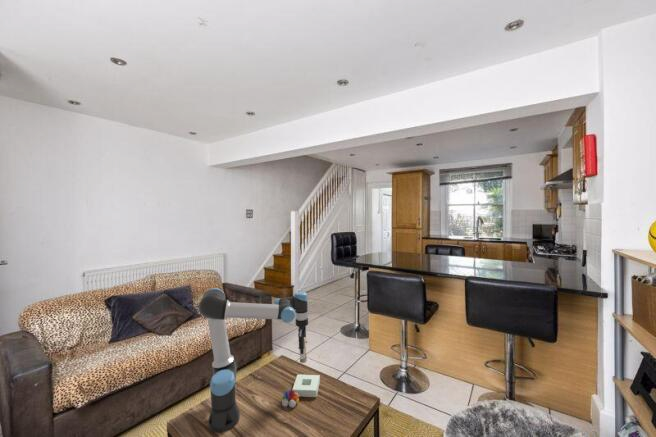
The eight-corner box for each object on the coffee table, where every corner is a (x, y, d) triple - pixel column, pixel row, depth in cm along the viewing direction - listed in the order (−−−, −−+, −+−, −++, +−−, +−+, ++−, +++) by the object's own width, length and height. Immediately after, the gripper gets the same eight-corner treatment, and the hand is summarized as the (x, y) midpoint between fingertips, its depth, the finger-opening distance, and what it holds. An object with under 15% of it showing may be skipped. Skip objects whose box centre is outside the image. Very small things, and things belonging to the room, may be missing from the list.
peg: (299, 362, 163) (298, 340, 163) (300, 359, 167) (299, 336, 167) (306, 363, 163) (305, 340, 162) (307, 359, 167) (306, 336, 166)
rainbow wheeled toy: (296, 409, 147) (296, 396, 147) (279, 407, 149) (279, 394, 149) (301, 398, 156) (300, 386, 155) (285, 396, 158) (284, 384, 157)
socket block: (292, 396, 158) (292, 389, 158) (297, 380, 172) (297, 374, 171) (316, 397, 156) (316, 390, 156) (319, 381, 170) (319, 375, 170)
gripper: (305, 324, 155) (307, 364, 156) (309, 312, 172) (311, 348, 173) (292, 324, 156) (294, 364, 157) (298, 312, 173) (299, 348, 174)
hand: (303, 356), depth 165 cm, fingers closed on peg, 4 cm apart
